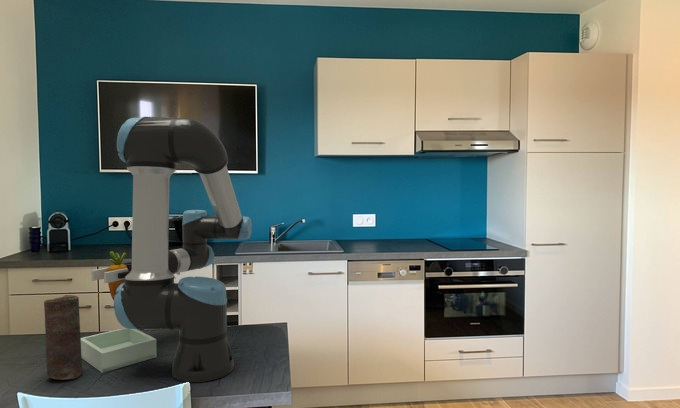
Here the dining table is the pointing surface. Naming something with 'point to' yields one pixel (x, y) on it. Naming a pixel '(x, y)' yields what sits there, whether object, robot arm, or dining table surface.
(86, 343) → the bin
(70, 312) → the candle
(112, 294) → the carrot
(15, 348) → the dining table surface
